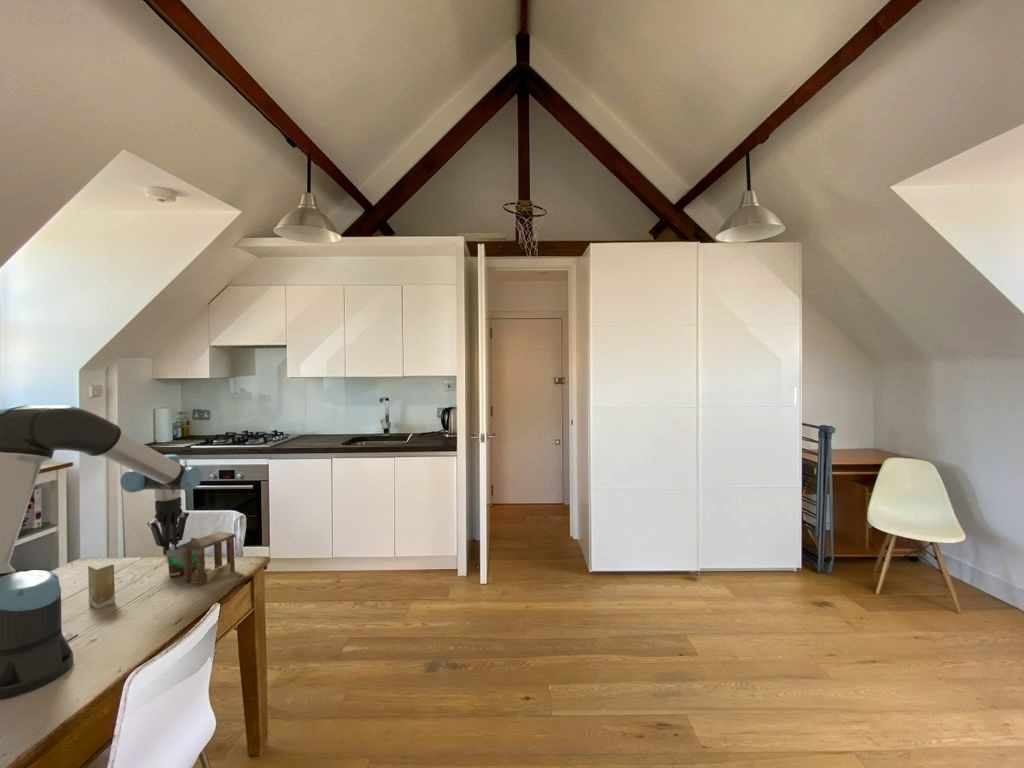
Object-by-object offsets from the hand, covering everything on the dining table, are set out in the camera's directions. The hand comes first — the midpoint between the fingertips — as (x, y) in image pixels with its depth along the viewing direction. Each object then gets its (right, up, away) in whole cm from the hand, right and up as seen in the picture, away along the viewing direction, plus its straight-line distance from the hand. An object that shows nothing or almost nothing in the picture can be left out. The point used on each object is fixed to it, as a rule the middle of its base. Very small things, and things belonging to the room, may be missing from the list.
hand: (170, 562), depth 161 cm
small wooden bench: (+19, -2, -7) cm, 21 cm away
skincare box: (-2, -3, -25) cm, 25 cm away
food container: (+9, -2, -3) cm, 10 cm away
